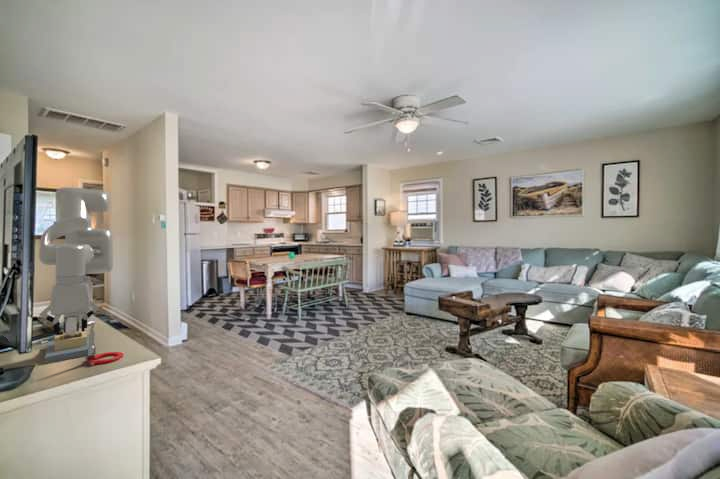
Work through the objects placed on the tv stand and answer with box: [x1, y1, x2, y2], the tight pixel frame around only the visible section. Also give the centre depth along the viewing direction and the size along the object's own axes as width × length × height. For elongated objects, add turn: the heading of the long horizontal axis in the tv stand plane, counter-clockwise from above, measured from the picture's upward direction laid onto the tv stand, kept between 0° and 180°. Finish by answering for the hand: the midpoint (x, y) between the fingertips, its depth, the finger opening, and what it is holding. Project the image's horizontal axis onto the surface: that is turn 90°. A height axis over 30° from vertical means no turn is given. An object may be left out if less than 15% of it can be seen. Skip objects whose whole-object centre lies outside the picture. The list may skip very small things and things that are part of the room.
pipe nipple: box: [62, 315, 80, 340], centre depth 108 cm, size 4×4×10 cm
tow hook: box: [85, 322, 124, 367], centre depth 101 cm, size 8×13×9 cm
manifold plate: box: [44, 330, 96, 364], centre depth 108 cm, size 18×12×5 cm, turn 44°
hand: (70, 331), depth 108 cm, fingers open, 5 cm apart
